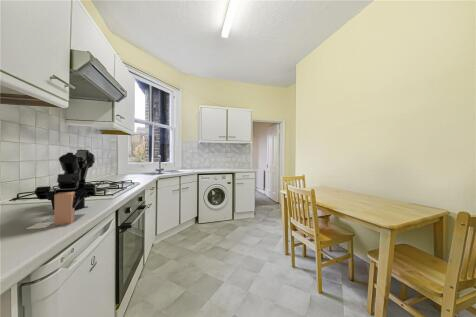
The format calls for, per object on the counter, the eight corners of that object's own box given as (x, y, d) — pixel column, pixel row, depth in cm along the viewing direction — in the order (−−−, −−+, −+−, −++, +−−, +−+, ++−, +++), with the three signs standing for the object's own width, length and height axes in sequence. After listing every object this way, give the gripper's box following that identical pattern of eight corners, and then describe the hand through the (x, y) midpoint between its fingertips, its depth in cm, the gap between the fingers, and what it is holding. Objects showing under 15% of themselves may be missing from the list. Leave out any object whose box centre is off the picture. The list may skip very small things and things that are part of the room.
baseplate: (52, 217, 80) (52, 215, 80) (85, 215, 84) (85, 213, 84) (24, 231, 66) (24, 229, 66) (66, 228, 70) (66, 226, 70)
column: (58, 221, 75) (58, 192, 75) (74, 219, 77) (74, 191, 77) (54, 225, 71) (54, 195, 70) (71, 223, 73) (71, 194, 73)
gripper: (36, 166, 72) (22, 200, 63) (95, 166, 82) (90, 195, 73) (44, 183, 79) (33, 216, 70) (97, 180, 89) (94, 209, 79)
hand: (63, 208), depth 73 cm, fingers open, 6 cm apart
